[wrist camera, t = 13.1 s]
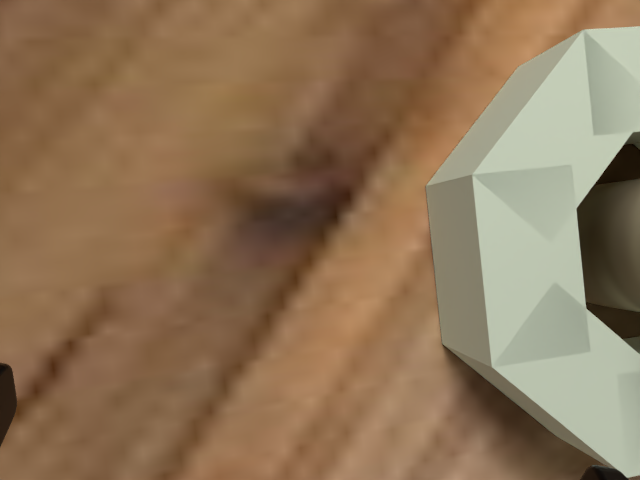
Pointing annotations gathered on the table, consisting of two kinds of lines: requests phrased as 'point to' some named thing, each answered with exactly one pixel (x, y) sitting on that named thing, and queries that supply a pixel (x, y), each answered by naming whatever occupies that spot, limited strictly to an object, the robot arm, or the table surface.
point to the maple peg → (611, 244)
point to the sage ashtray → (542, 243)
